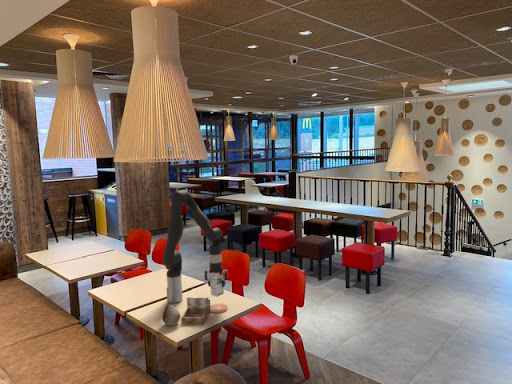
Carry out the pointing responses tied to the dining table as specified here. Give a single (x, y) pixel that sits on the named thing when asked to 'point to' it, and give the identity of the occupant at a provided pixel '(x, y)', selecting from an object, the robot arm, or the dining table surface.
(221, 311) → the saucer
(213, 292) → the syrup box
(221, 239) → the robot arm
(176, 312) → the fruit
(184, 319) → the frame
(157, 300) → the dining table surface
